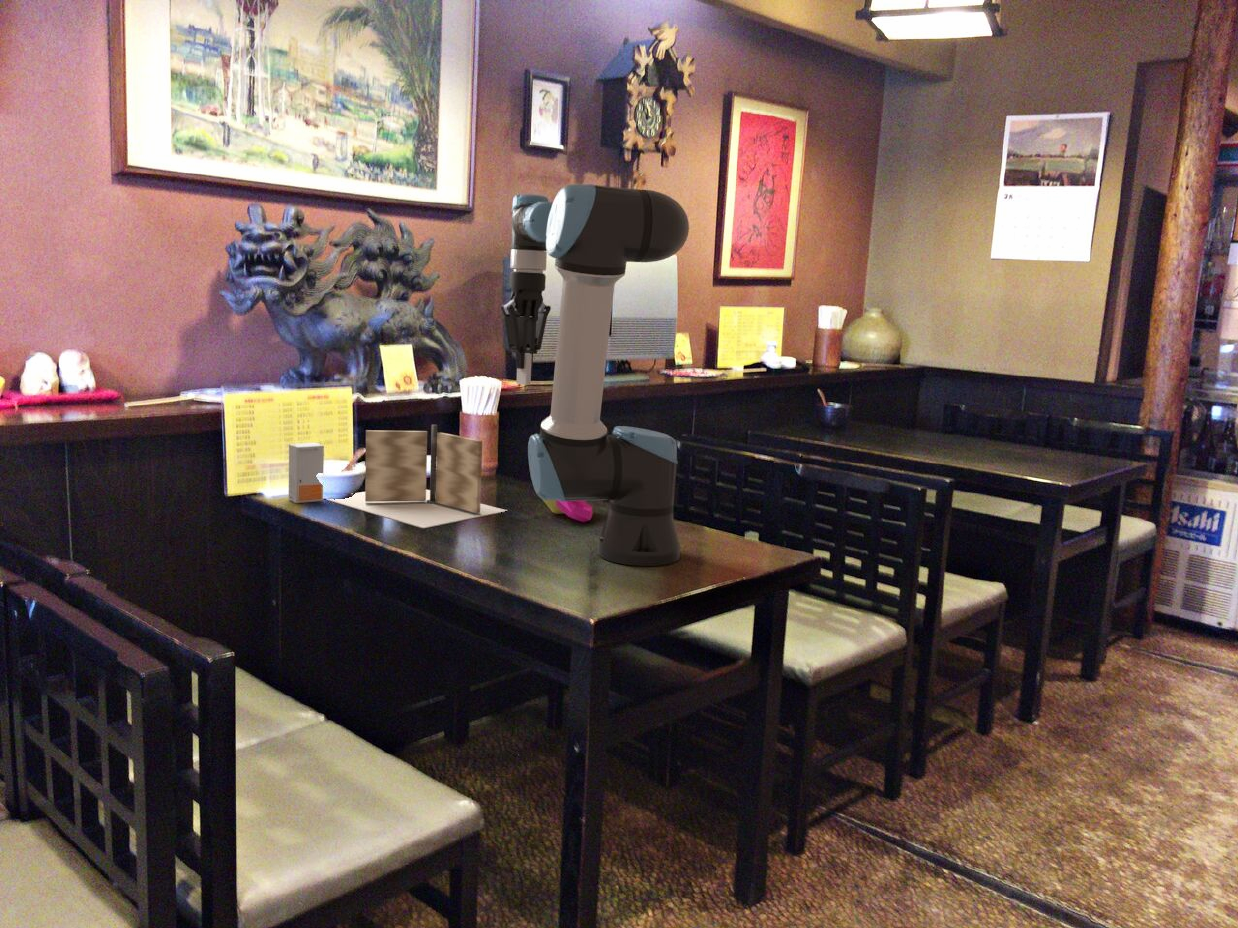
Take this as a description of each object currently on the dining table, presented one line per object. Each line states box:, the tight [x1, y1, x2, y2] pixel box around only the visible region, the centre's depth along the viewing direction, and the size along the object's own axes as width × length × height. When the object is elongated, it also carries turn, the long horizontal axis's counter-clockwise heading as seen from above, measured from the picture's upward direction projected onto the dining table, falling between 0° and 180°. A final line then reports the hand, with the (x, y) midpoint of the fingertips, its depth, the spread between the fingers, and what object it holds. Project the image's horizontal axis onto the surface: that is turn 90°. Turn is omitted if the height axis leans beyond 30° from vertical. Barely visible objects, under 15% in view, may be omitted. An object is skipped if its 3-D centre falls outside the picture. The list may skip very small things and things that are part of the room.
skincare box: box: [288, 442, 325, 504], centre depth 210 cm, size 6×4×12 cm
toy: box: [541, 499, 594, 523], centre depth 211 cm, size 10×18×10 cm, turn 23°
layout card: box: [325, 488, 508, 529], centre depth 212 cm, size 32×23×1 cm
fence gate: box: [364, 429, 428, 502], centre depth 211 cm, size 12×1×15 cm, turn 106°
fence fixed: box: [427, 424, 483, 513], centre depth 209 cm, size 15×3×17 cm, turn 52°
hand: (523, 383), depth 213 cm, fingers closed
